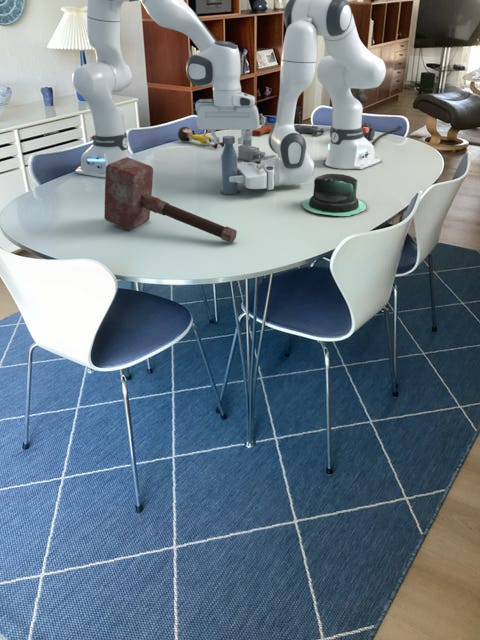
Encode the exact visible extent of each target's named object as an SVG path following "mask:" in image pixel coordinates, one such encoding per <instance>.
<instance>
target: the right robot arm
mask: <svg viewBox="0 0 480 640" xmlns="http://www.w3.org/2000/svg"><path fill="white" fill-rule="evenodd" d="M283 22H284V26H285V29H286V31H285V35H284V40H283V44H282V50H281V58H280V72H279V92H278V97H277V98H278V99H277V107H276V114H275V120H274V123H275V124H274V126H273V128H272V130H271V132H269V134H268V145H269V148H270V150H271V151H272V152H273V153H275V154H276V155H277V158H275V159H273V158H272V159H267V160H261V161H259V163H257V162H250V161H244V162H243V161H242V162H237V176H234V175H233V176H229V177H228V178H229V182H237V183H239V184H243V185H244V187H245V188H246V189H250V190H264V189H267V190H268V191H269V190H270V191H271V190H274V188H275V187H277V186H281V185H286V186H290V185H291V186H292V185H300V184H304V183H308V182H309V181H310V180H311V179H312V177H313V176H314V172H315V162H314V160H313V159H312V158H311V156H310V153H309V152H308V147H307V141H306V139H305V137H304V136H303V135H302V134H301V133H298V132H296V131H295V128H294V125H295V117H296V109H297V103H298V99H299V97H300V95H301V94H302V93H303V92H304V91H306V90H307V89H309V88H310V87H311V85H312V84H313V81H314V78H315V74H316V78H317V80H318V81H319V83H320V84H321V85H322V86H323V87H324V88H325V91H327V93H328V96H329V98H330V101H331V112H332V113H331V115H332V116H331V126H330V130H329V137H330V140H329V143H328V144H327V145H328V146H327V156H326V157H325V163H324V164H325V166H327V167H330V168H334V169H341V170H342V169H343V170H348V169H350V170H351V169H352V170H363V169H365V168H368V167H370V166H373V165H376V164H378V163H381V158H379V157H377V156H376V155H375V150H376V149H375V145H376V143H377V141H378V140H380V139H381V138H383V137H384V136H385V135H388V134H390V133H394V132H396V131H398V130H399V129H401V125H397V127H396V128H395V129H394V128H393V129H391V130H388V131H386V132H383V133H382V134H380V135H378V136H377V137H376V138H375V139H374V141H372V143H371V141H368V140H367V139H366V138H365V137H364V134H363V132H365V133H368V129H369V128H368V127H363V128H362V127H361V125H362V123H363V122H362V121H363V111H364V106H363V107H362V104H361V103H360V102H359V101H358V100H357V99H355V98H354V97H353V95H352V93H351V90H350V88H356V89H363V90H369V89H375V88H379V86H380V85H382V84H383V82H384V80H385V78H386V74H387V68H386V64H385V61H384V60H383V59H382V58H381V57H379V56H377V55H375V54H374V53H372V52H371V51H370V50H369V49H368V48H367V47H366V46H365V44H364V43H363V42H362V40H361V39H360V36H359V33H358V30H357V25H356V22H355V17H354V14H353V10H352V6H351V5H350V2H349V1H348V0H288V1H287V2H286V4H285V6H284V9H283ZM318 36H319V37H321V36H322V38H323V39H322V40H323V43H324V45H325V48H326V51H327V53H328V55H325V56H323V57H321V59H320V60H319V62H318V63H317V58H318Z"/></svg>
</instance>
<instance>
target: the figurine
mask: <svg viewBox="0 0 480 640" xmlns="http://www.w3.org/2000/svg"><path fill="white" fill-rule="evenodd" d="M209 133H211V130H206V132H205V133H204V134H202V135H201V134H198V133H195V130H193V129H191V128H189V127H188V126H182V127H180V128H179V129H178V132H177V137H178V139H179V141H182V142H191V141H192V140H194V141H198V142H200V143H201V144H203V145H204V146H210V147H212V148H214V149H215V150H216V149H218V145H219V146H221V147H225V144H223V141H220V143H219V144H215V143H214V138H213V136H207V135H208V134H209Z"/></svg>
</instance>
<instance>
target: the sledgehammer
mask: <svg viewBox="0 0 480 640" xmlns="http://www.w3.org/2000/svg"><path fill="white" fill-rule="evenodd" d="M153 183H154V168H153V167H152V166H151V165H150V164H147V163H144V162H142V161H138V160H136V159H133V158H132V157H130V158H128V157H126V158H123V159H121V160H118V161H116V162H113V163H110V164H108V165H107V166H106V177H105V179H104V217H103V218H104V220H105V221H106V222H107V223H110V224H113V225H115V226H118V227H120V228H122V229H124V230H127V231H129V232H130V231H132V230H134V229H136V228H138V227H140V226H142V225H144V224H146V223H147V222H148V221H149V220H150V217H151V212H152V213H154V214H159V215H162V216H166V217H169V218H170V219H174V220H175V221H179V222H180V223H183V224H186V225H188V226H191V227H192V228H196V229H198V230H200V231H203V232H205V233H208V234H211V235H212V236H215V237H218V238H220V239H221V240H222V241H225V242H227V243H229V244H232V243H234V241H235V240H236V238H237V233H238V231H237V229H234V228H232V227H229V226H228V225H227V226H224V225H222V224H219V223H217V222H214V221H212V220H209V219H207V218H204V217H201V216H199V215H196V214H194V213H192V212H190V211H187V210H184V209H181V208H180V207H177V206H175V205H172V204H170V203H169V202H167V201H164V200H163V199H161V198H159V197H156V196H153Z"/></svg>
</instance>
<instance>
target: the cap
mask: <svg viewBox="0 0 480 640" xmlns="http://www.w3.org/2000/svg"><path fill="white" fill-rule="evenodd" d="M235 137H236V136H235V135H224V136H222V142H223V144H224V145H225V144H233V145H234V144H235V143H236V138H235Z"/></svg>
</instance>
